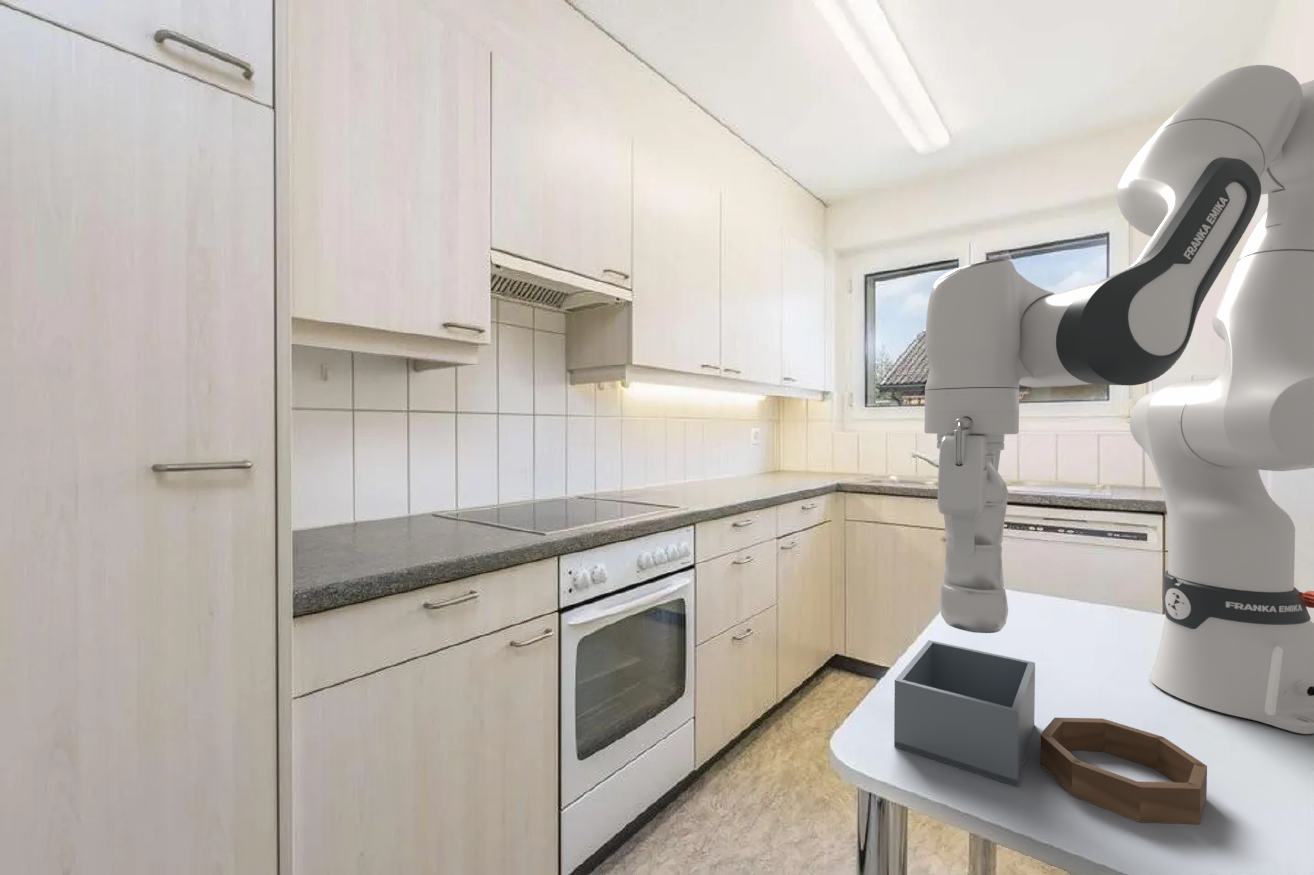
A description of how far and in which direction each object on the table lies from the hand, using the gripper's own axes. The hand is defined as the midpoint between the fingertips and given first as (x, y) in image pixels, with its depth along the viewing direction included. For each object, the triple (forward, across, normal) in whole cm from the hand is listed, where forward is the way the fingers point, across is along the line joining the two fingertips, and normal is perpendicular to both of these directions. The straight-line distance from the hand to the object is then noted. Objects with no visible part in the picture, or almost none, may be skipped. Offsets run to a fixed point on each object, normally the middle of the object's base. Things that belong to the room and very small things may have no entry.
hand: (968, 547), depth 63 cm
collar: (+20, -1, -13) cm, 24 cm away
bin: (+20, 0, 0) cm, 20 cm away
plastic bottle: (+9, -1, -1) cm, 9 cm away
